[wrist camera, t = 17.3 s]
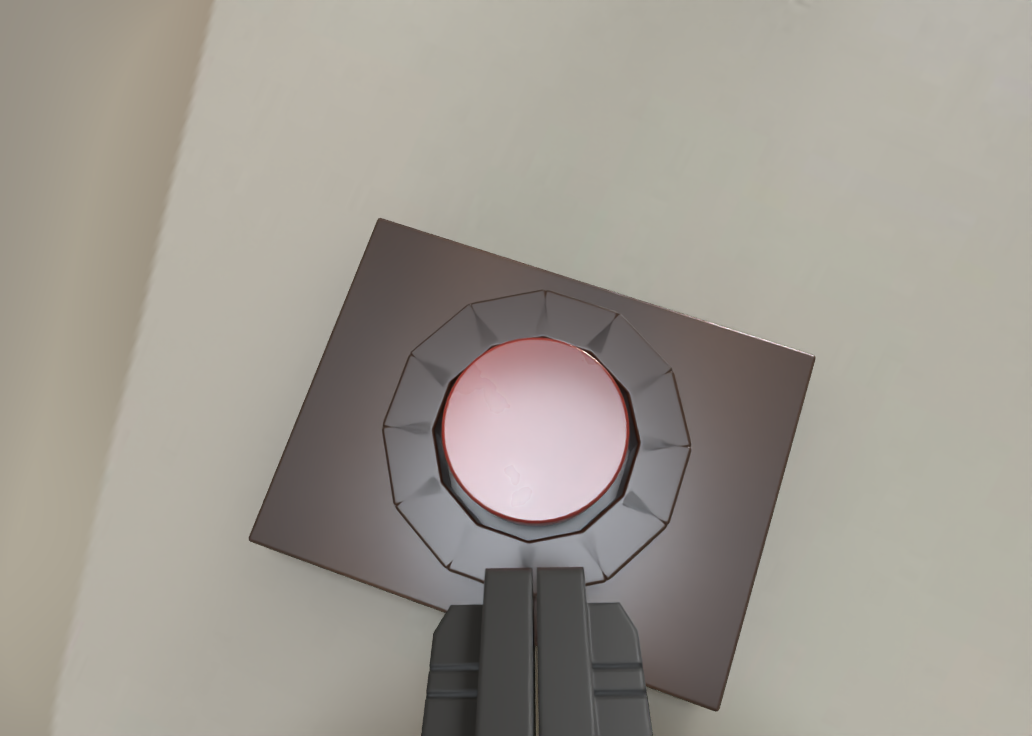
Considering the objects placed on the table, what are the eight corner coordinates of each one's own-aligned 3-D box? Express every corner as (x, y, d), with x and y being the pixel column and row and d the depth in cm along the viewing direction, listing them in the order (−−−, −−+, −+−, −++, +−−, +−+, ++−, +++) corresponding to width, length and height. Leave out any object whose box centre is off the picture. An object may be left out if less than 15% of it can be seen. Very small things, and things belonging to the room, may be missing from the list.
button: (425, 493, 19) (413, 486, 17) (483, 333, 19) (478, 312, 18) (590, 551, 18) (596, 550, 17) (643, 385, 19) (653, 369, 17)
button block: (274, 541, 22) (217, 539, 18) (392, 246, 24) (363, 186, 20) (701, 696, 21) (737, 730, 17) (791, 373, 23) (843, 336, 19)
